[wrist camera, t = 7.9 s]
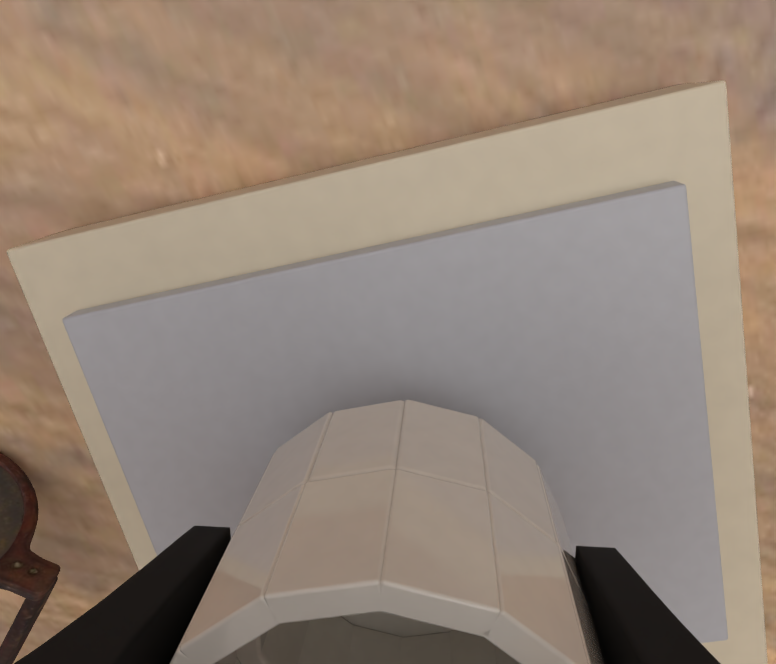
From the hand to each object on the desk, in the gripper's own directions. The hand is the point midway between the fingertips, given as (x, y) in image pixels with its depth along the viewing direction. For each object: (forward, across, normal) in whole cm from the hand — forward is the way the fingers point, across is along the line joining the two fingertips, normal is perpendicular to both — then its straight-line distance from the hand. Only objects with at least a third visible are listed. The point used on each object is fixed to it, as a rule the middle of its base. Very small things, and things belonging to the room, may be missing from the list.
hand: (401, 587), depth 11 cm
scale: (+6, 0, 0) cm, 6 cm away
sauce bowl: (+2, 0, 0) cm, 2 cm away
